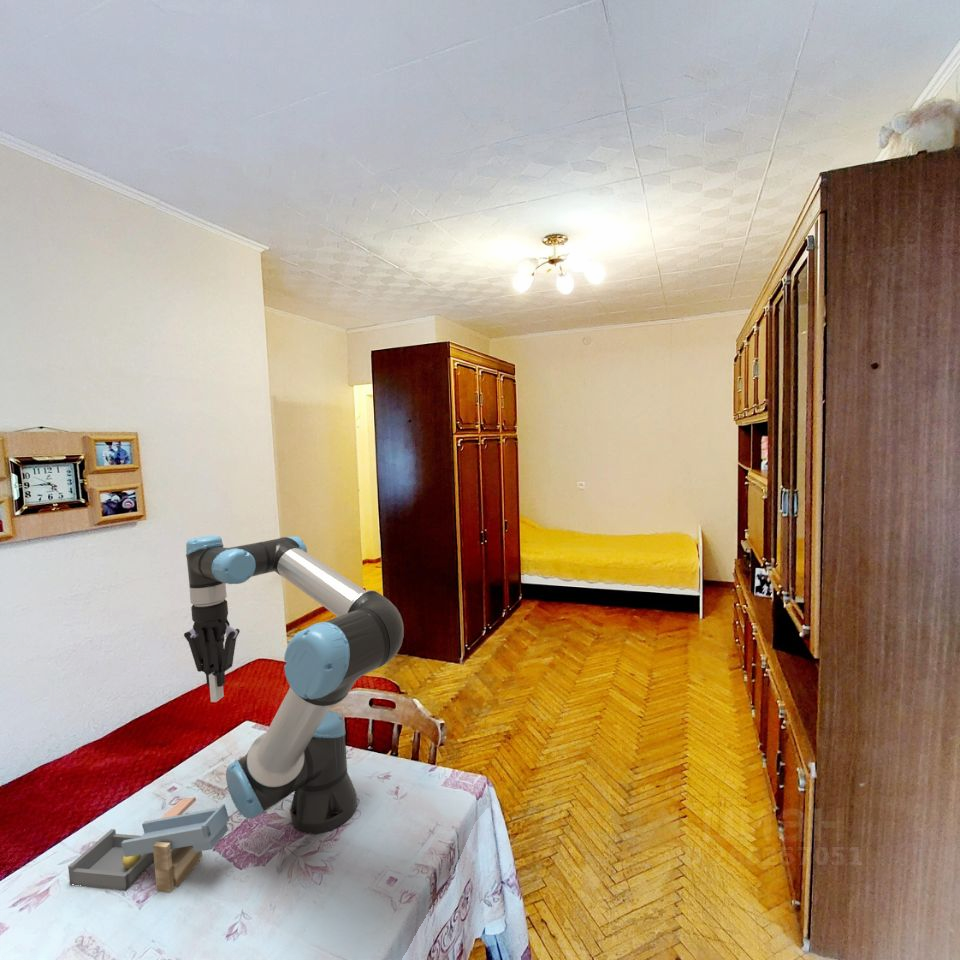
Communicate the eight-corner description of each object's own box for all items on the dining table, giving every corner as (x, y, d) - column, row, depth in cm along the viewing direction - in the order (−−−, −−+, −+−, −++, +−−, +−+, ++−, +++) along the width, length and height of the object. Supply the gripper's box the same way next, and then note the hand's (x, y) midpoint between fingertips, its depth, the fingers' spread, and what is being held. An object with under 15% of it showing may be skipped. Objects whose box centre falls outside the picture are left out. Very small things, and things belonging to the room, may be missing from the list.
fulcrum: (204, 856, 107) (200, 813, 107) (172, 892, 98) (168, 847, 98) (187, 854, 108) (184, 812, 107) (154, 891, 99) (150, 845, 99)
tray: (164, 850, 109) (163, 833, 109) (126, 890, 99) (124, 871, 99) (113, 846, 111) (111, 829, 111) (70, 885, 101) (68, 866, 101)
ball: (146, 858, 106) (142, 844, 106) (134, 871, 103) (129, 856, 103) (134, 860, 107) (129, 846, 107) (121, 873, 104) (116, 858, 103)
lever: (258, 796, 113) (252, 774, 113) (211, 852, 98) (203, 826, 98) (183, 810, 117) (177, 789, 117) (126, 866, 101) (118, 842, 101)
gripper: (244, 596, 121) (251, 691, 122) (194, 597, 122) (203, 691, 124) (224, 606, 113) (233, 707, 114) (172, 607, 115) (181, 706, 116)
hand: (217, 698), depth 119 cm, fingers closed
